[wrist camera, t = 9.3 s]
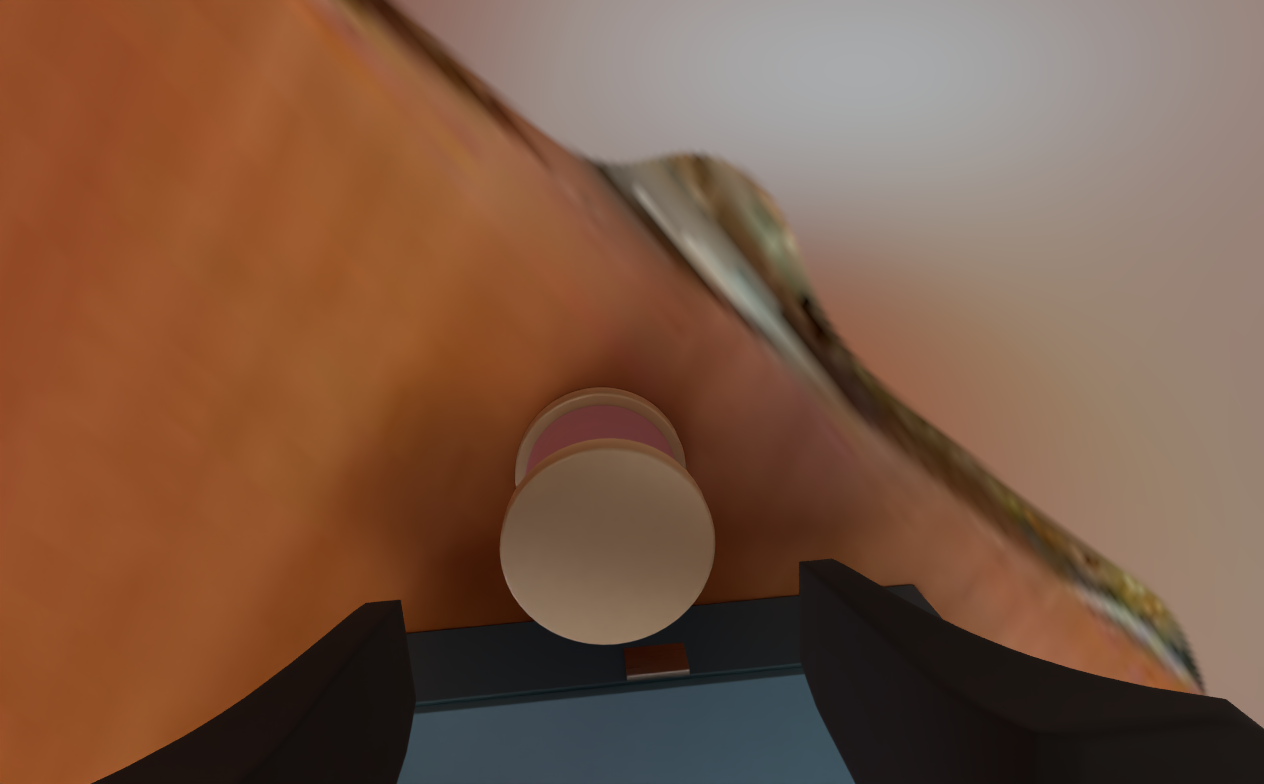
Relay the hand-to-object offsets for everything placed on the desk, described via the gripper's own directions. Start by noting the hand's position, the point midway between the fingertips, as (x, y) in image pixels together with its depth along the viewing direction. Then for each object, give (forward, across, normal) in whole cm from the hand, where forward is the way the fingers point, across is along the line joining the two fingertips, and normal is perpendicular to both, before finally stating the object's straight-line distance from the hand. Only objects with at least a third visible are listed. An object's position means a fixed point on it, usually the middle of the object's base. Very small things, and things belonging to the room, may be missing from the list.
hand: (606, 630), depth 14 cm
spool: (+8, 0, 0) cm, 8 cm away
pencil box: (+8, -1, +7) cm, 11 cm away
